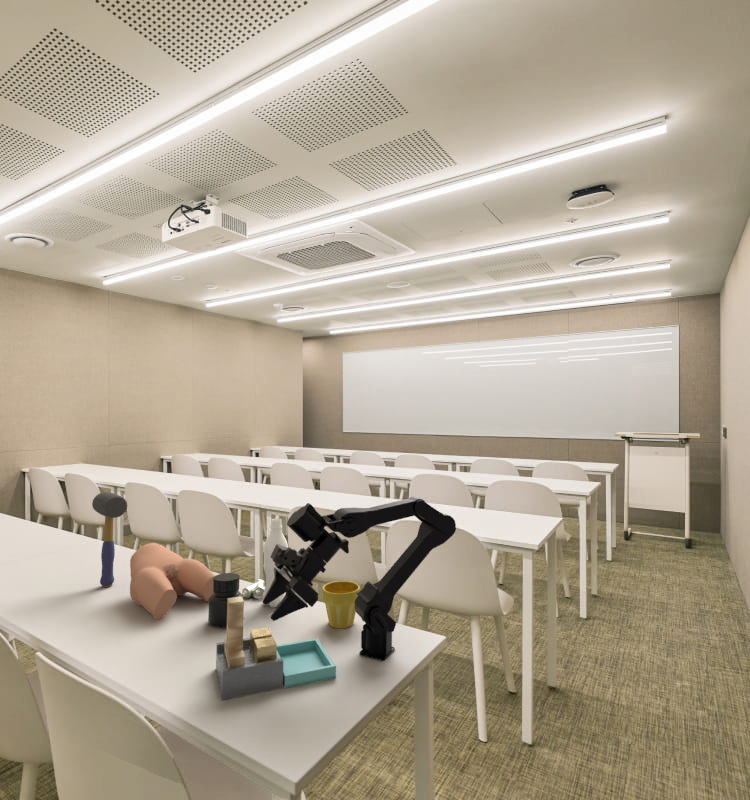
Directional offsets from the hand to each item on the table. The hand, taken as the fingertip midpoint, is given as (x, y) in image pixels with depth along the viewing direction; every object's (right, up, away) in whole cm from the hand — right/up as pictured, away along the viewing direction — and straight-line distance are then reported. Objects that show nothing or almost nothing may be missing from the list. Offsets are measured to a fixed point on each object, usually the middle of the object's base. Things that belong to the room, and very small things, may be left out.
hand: (267, 611), depth 105 cm
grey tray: (-4, -13, -2) cm, 14 cm away
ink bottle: (-17, -14, +26) cm, 34 cm away
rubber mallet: (-64, -15, +52) cm, 83 cm away
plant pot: (+14, -15, +26) cm, 33 cm away
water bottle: (-6, -15, +39) cm, 42 cm away
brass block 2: (0, -9, -3) cm, 10 cm away
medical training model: (-39, -15, +40) cm, 58 cm away
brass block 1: (-2, -9, +2) cm, 10 cm away
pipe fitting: (-15, -15, +46) cm, 51 cm away
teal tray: (+7, -14, +3) cm, 16 cm away
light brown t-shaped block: (-6, -9, -3) cm, 12 cm away
